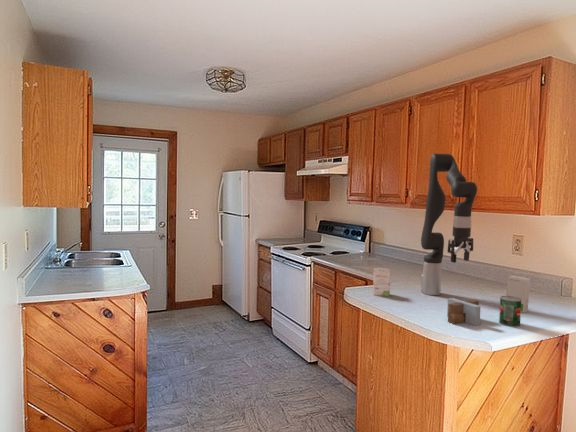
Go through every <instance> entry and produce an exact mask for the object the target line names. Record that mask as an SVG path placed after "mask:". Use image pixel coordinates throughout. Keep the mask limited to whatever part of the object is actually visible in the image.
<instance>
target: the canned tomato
mask: <svg viewBox="0 0 576 432" xmlns="http://www.w3.org/2000/svg"><path fill="white" fill-rule="evenodd" d="M521 315H522V313H521V299H520V298H517V297H513V296H506V295H501V296H499V314H498V316H499V318H498V319H499V320H498V323H499V324H501V325H503V326H506V327H510V328H511V327H512V328H518V327H520V326H521Z"/></svg>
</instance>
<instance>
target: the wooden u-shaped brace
mask: <svg viewBox="0 0 576 432" xmlns="http://www.w3.org/2000/svg"><path fill="white" fill-rule="evenodd" d="M464 301H465V302H468V303H472V304H475V305H479V306H480V304H479V303H480V301H479V300H477V299H474V298H472V299H471V298H470V299H466V300H464ZM447 309H448V316H447V323H448V322H449V323H448V324H451V323H452V324H451V325H457V324H460V323H465V317H466V313H463V304H462V303H459V302H456V303H451V304H448V303H447Z"/></svg>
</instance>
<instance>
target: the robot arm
mask: <svg viewBox="0 0 576 432" xmlns="http://www.w3.org/2000/svg"><path fill="white" fill-rule="evenodd" d="M441 172H443V173H446V172H447V173H446V175H445V176H446V177H445V178H446V181H447V182H448V184H449V185H450V189H451V195H452V196H453V197H455V198H465V199H464V201H461V202H457V203H455V204H454V214H453V215H454V216H453V220H452V222H453V223H452V236H453V239H448V243H447V253H448V254H450V261H451V263H457V257H458V255H457V253H458V252H459V251H460V250H461V249H463V251H464V252H463V260H464V261H466V262H469V260H470V253H471V252H474V238H473V237H471V235H472V234H471V233H472V208H473V204H474V201H475V199H476V196H477V193H478V185H477V184H476V182H474V181H467V179H466V177H465V176H464V175H463V174H462V172H461V171H460V169H459V167H458V164H457V162H456V159H455V157H454V156H453V155H452V154H451V153H432V154H431V156H430V158H429V174H428V175H429V177H428V178H429V179H428V180H429V181H428V188H427V189H428V191H427V196H426V202H425V203H426V205H425V213H424V214H425V215H424V222H423V227H422V231H421V237H420V238H421V239H420V245H421V247H422V249H423V250H429V251H431V250H432V251H431V252H430V253H428V254H426V255H424V256H423V269H422V270H423V272H422V274H421V285H420V292H421V293H423V294H424V295H428V296H439V295H441V293H442V292H441V291H442V268H443V267H442V266H443V263H442V262H443V258H444V257H443V256H444V248H445V247H444V246H445V239H444V235H443V233H442V232H433V229H434V227H435V224H436V222H437V221H438V219H440V217H441V216H442V215H443V212H444V211H445V207H446V193H445V191H444V190H443V189H442V187H441V185H440V182H439V177H438V173H441Z"/></svg>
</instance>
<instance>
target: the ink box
mask: <svg viewBox="0 0 576 432" xmlns="http://www.w3.org/2000/svg"><path fill="white" fill-rule="evenodd" d="M372 283H373V284H372V285H373V286H372V287H373V288H372V294H373V296H381V297H382V296H383V297H390V293H391V272H390V268H385V267H374V268H373V280H372Z"/></svg>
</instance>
